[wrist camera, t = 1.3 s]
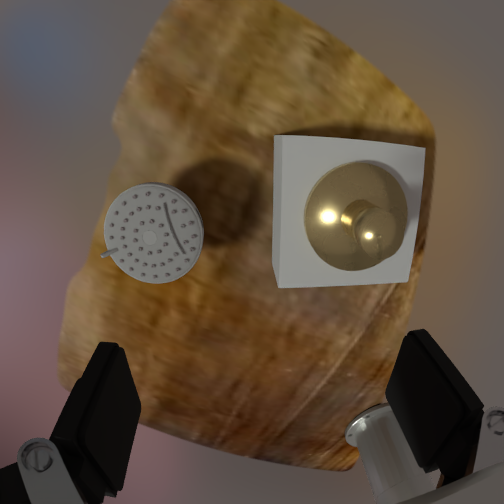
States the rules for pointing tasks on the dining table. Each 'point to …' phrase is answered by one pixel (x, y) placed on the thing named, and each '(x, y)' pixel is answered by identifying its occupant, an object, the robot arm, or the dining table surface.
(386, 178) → the end cover
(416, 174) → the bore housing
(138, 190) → the showerhead
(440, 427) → the robot arm
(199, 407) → the dining table surface
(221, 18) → the dining table surface
